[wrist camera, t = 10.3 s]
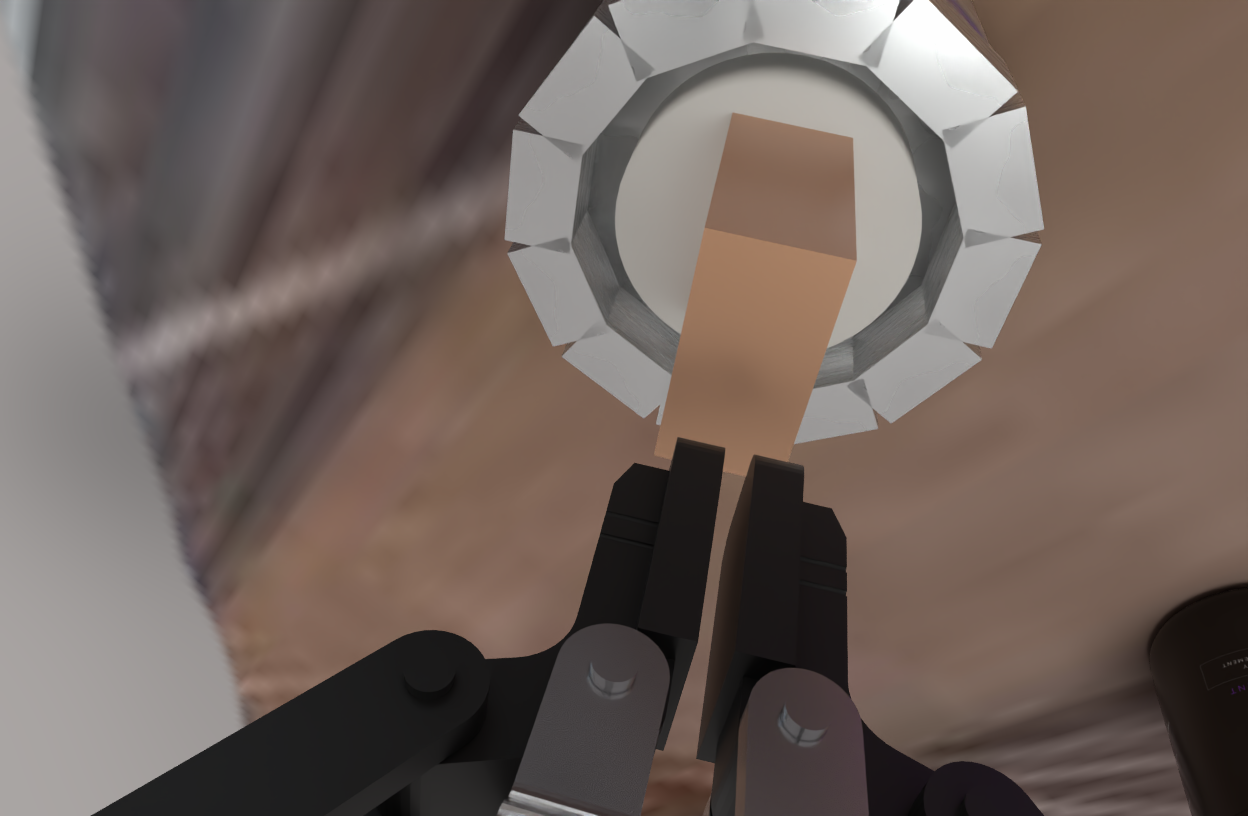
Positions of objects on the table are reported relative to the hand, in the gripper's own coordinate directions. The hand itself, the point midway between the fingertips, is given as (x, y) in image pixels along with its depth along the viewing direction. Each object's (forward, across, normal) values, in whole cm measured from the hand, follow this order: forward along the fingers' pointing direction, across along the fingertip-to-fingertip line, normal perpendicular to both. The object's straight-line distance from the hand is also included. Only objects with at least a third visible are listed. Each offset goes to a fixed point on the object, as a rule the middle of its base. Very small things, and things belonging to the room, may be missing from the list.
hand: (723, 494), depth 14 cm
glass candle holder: (+15, 0, 0) cm, 15 cm away
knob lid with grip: (+10, 0, 0) cm, 10 cm away
